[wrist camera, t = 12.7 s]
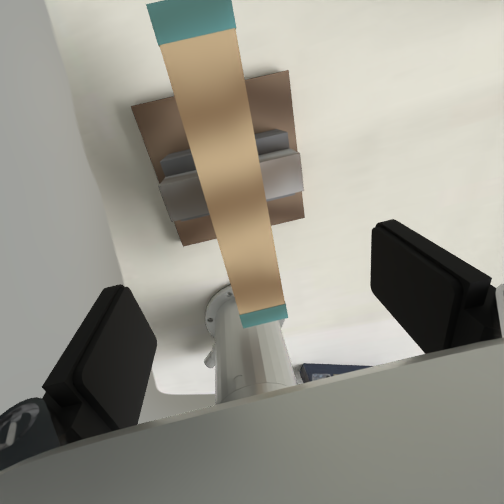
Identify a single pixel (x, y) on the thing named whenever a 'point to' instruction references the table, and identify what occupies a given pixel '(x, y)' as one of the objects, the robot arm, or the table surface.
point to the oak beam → (222, 145)
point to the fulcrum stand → (184, 170)
